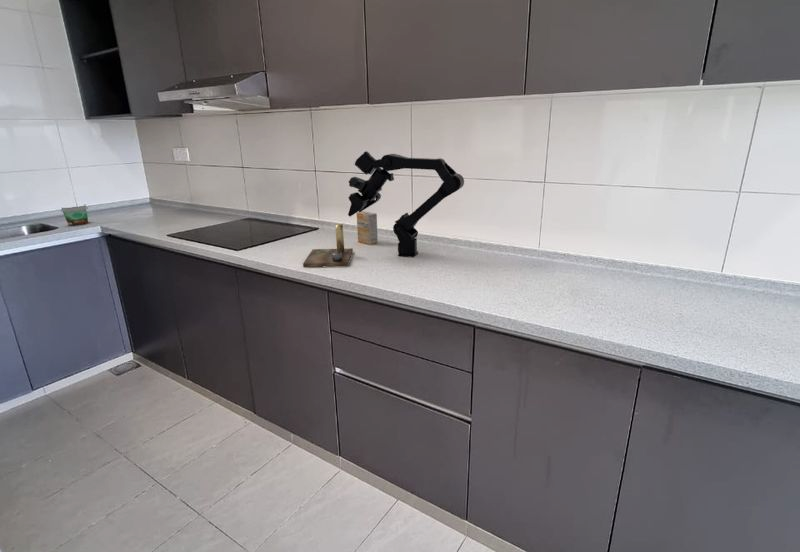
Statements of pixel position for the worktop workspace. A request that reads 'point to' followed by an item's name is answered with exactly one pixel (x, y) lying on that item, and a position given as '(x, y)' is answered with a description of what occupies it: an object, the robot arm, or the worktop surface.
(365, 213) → the supplement box
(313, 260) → the dial board
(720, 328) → the worktop surface
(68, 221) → the food container
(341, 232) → the tuning lever
